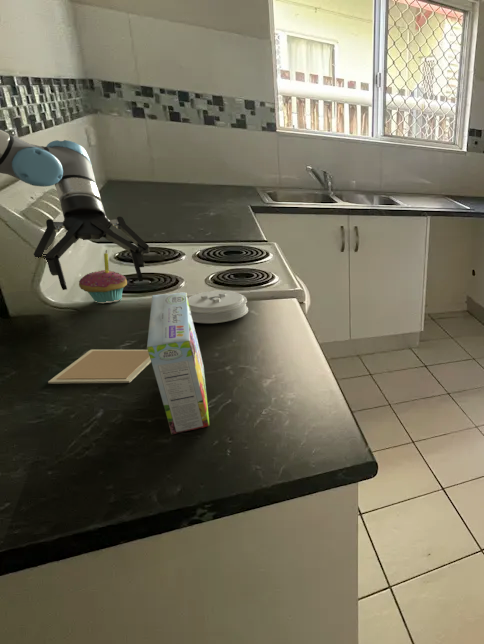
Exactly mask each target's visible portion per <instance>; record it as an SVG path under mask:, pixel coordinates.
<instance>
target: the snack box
mask: <svg viewBox="0 0 484 644" xmlns="http://www.w3.org/2000/svg"><path fill="white" fill-rule="evenodd" d="M188 298H189V297H188V293H187V292H183V291H182V292H173V293H163V294H162V293H161V294H153V295H152V296H151V303H150V311H149V323H148V334H147V343H146V350H148V353H149V356H150V359H151V363H150V364H151V366H152V371H153V373H154V377H155V380H156V384H157V386H158V387H157V388H158V390H159V393H160V394H159V395H160V398H161V402H162V405H163V408H164V411H165V416H166V418H167V423H168V427H169V430H170V435H171V436H172V435H176V434H181V433H186V432H190V431H193V430H198V429H204V428H206V427H207V428H208V427H210V417H209V415H210V414H209V407H208V395H207V386H206V377H205V367H204V361H203V358H202V352H201V348H200V344H199V340H198V335H197V333H196V329H195V324H194V322H193V320H192V316H191V311H190V307H189V303H188Z"/></svg>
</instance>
